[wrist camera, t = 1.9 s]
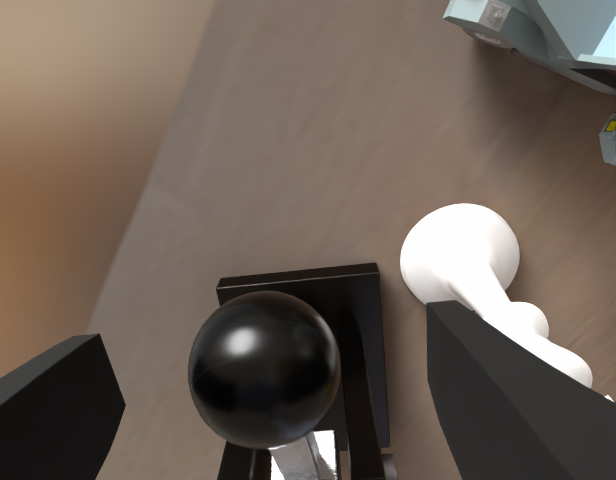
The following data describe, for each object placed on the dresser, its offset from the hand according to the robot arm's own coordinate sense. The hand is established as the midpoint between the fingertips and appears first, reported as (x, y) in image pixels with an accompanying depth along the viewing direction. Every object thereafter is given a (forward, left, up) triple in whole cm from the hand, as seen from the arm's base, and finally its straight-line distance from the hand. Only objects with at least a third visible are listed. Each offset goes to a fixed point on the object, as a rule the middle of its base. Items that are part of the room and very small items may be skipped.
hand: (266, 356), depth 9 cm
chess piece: (-3, -7, -9) cm, 12 cm away
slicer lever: (-3, 0, -3) cm, 4 cm away
